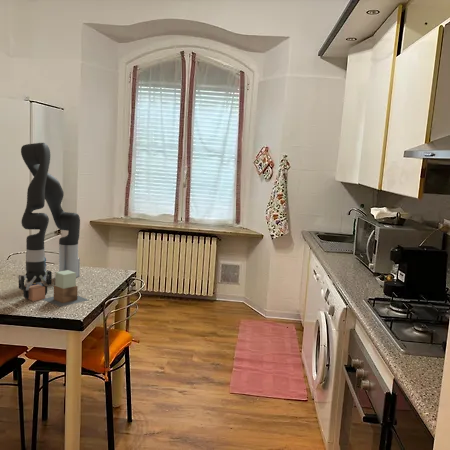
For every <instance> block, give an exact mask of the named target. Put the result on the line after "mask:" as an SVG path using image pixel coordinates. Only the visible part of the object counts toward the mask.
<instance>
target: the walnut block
mask: <svg viewBox="0 0 450 450" xmlns="http://www.w3.org/2000/svg"><path fill="white" fill-rule="evenodd" d="M77 296H78V285H76V286H75V287H70V288H65V289H63V288H60V287H57V286H55V285H53V297H54V300H57V301H59V302H62V303H66V302H70V301H74V300H77Z"/></svg>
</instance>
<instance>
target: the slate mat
mask: <svg viewBox="0 0 450 450" xmlns="http://www.w3.org/2000/svg"><path fill="white" fill-rule="evenodd" d="M41 300H43V301H44V302H48V303H50V304H52V305H55V306H57V307H59V308H62V307H65V306H70V305H75V304H79V303H82V302H87V301H89V299H88V298H85V297H83V296H79V295H77V300H74V301H70V302H66V303H62V302H59V301H57V300H54V296H50V297H45V298H44V299H41Z"/></svg>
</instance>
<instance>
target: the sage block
mask: <svg viewBox="0 0 450 450" xmlns="http://www.w3.org/2000/svg"><path fill="white" fill-rule="evenodd" d="M54 278H55V279H54V280H55V281H54V282H55V283H54V284H55V285H54V286H57V287H60V288H63V289H65V288H70V287H75V286H77V277H76V273H75V272H72V271H69V270H65V271H60V272H59V271H56V272H55V277H54Z"/></svg>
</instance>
